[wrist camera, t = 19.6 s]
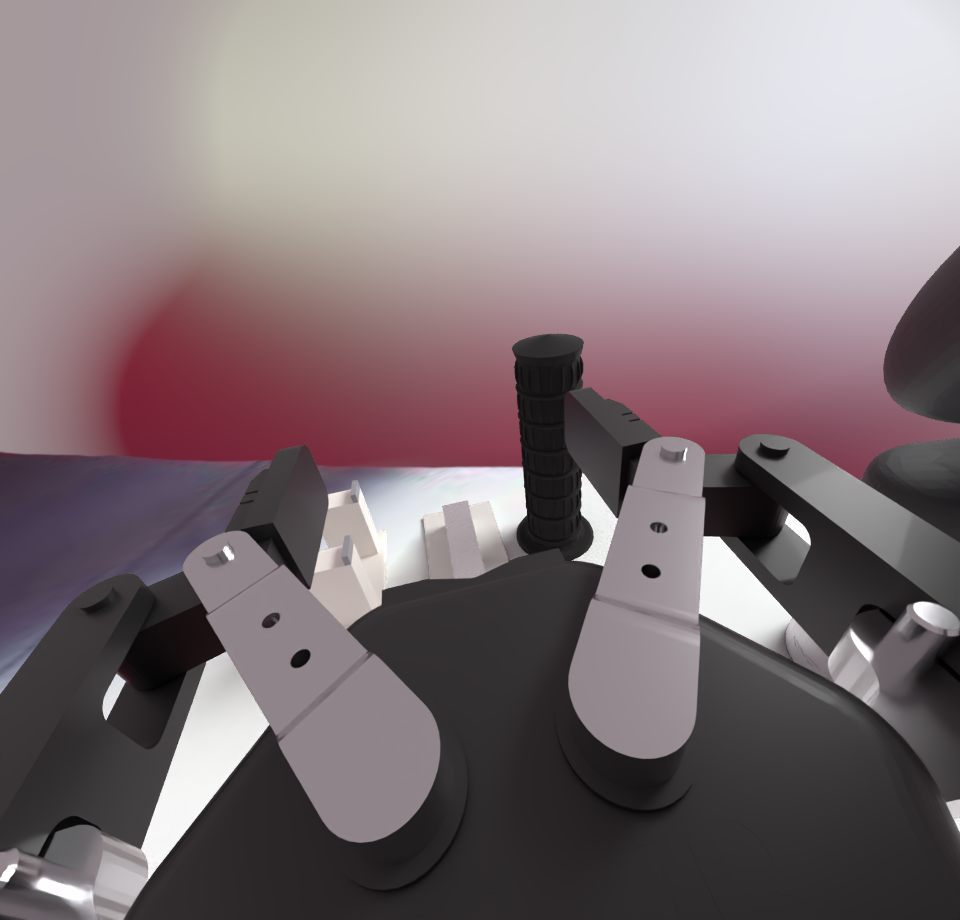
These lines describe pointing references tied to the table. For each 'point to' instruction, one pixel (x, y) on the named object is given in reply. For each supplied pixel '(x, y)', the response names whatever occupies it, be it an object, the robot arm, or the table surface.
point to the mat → (485, 534)
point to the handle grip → (549, 445)
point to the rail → (462, 541)
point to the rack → (350, 559)
